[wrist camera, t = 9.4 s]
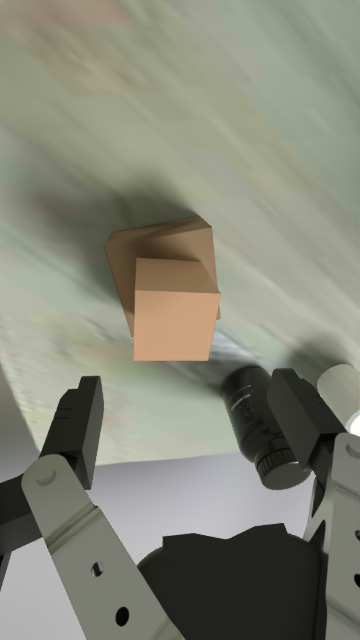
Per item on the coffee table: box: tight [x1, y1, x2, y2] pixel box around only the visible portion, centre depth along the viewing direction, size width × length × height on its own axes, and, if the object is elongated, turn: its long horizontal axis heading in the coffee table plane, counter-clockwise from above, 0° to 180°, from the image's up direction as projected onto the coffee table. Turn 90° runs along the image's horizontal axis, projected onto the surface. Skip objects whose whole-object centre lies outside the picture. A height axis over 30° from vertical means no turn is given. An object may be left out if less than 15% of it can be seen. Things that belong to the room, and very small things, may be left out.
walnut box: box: [105, 216, 220, 337], centre depth 24 cm, size 8×8×5 cm
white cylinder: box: [316, 364, 360, 437], centre depth 34 cm, size 7×7×7 cm
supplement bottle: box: [222, 367, 311, 490], centre depth 30 cm, size 7×7×12 cm
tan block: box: [134, 258, 221, 361], centre depth 19 cm, size 5×5×6 cm
